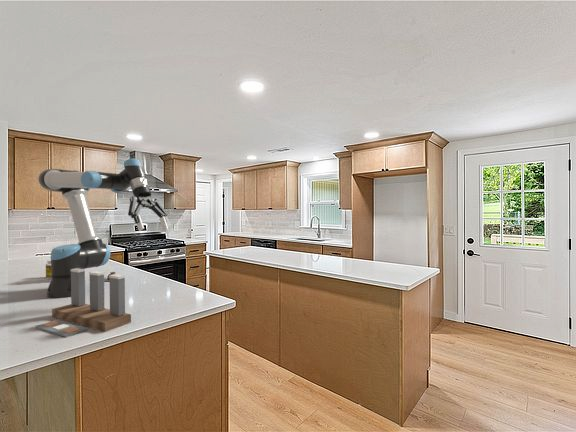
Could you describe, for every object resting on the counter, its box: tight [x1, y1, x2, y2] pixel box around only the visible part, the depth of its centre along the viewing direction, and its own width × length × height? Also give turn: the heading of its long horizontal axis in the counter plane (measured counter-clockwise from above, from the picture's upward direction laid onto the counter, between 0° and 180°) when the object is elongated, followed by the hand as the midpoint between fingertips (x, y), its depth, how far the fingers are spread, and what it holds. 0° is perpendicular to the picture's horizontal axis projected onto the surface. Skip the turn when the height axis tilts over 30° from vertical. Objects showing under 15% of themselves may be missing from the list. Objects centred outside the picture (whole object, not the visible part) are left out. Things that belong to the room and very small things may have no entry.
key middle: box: [88, 270, 105, 311], centre depth 125 cm, size 3×5×14 cm, turn 63°
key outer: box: [108, 273, 126, 316], centre depth 119 cm, size 3×5×14 cm, turn 63°
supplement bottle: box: [45, 259, 51, 279], centre depth 192 cm, size 6×6×10 cm
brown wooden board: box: [51, 303, 132, 333], centre depth 123 cm, size 32×10×3 cm, turn 63°
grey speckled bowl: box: [104, 271, 117, 283], centre depth 188 cm, size 12×12×5 cm
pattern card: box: [35, 319, 88, 338], centre depth 113 cm, size 18×7×1 cm, turn 63°
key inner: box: [70, 268, 86, 306], centre depth 130 cm, size 3×5×14 cm, turn 63°
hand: (154, 229), depth 148 cm, fingers open, 13 cm apart
